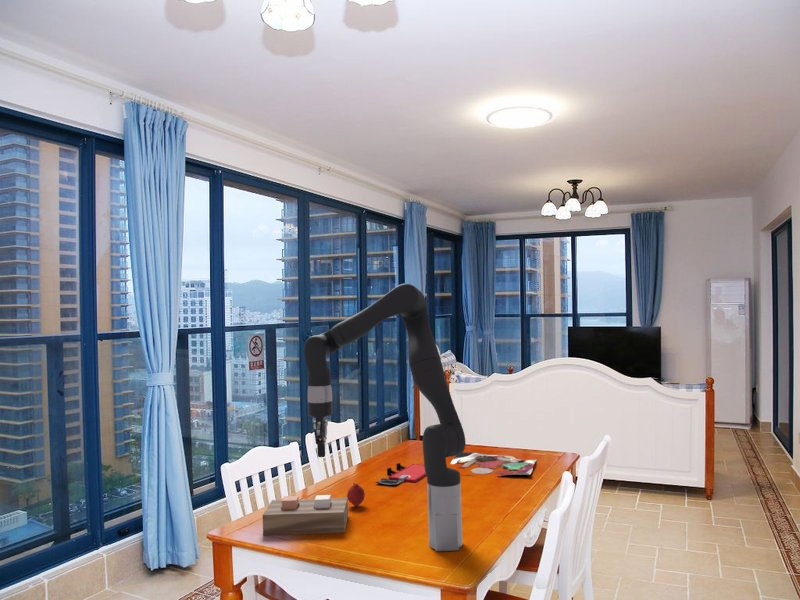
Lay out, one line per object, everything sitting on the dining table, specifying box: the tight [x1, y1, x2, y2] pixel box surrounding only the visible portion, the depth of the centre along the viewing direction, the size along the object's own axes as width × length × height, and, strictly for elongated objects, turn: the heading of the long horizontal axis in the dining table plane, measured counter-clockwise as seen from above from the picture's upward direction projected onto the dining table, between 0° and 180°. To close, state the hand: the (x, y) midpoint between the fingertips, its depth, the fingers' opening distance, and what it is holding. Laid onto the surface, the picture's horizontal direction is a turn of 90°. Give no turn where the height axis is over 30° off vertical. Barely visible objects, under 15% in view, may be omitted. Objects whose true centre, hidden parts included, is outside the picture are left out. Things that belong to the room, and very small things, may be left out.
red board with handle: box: [375, 462, 427, 486], centre depth 240 cm, size 30×3×15 cm
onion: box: [346, 482, 366, 508], centre depth 204 cm, size 6×6×8 cm
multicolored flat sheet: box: [450, 451, 537, 478], centre depth 253 cm, size 35×35×2 cm
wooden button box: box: [262, 497, 349, 536], centre depth 187 cm, size 14×24×6 cm, turn 90°
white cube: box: [314, 494, 332, 508], centre depth 187 cm, size 4×4×4 cm
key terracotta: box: [281, 495, 300, 509], centre depth 187 cm, size 4×4×4 cm
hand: (321, 456), depth 188 cm, fingers closed
